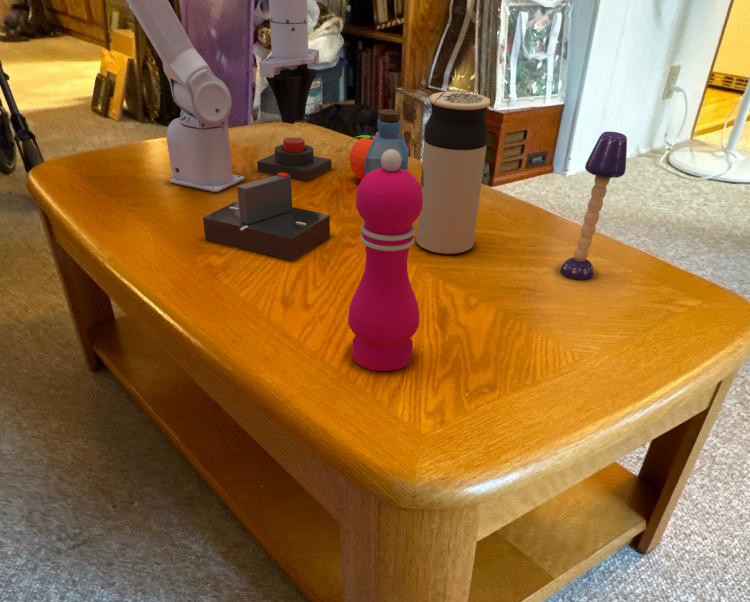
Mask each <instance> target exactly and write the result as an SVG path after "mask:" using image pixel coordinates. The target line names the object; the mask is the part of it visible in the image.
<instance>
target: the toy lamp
mask: <svg viewBox="0 0 750 602" xmlns="http://www.w3.org/2000/svg"><path fill="white" fill-rule="evenodd" d="M627 152H628V137H627V136H626V135H625V134H624V133H621V132H618V131H604V132H601V134H600V136H599V137H598V139H597V141H596V143H595V145H594V147H593V149H592V150H591V152H590V154H589V156H588V158H587V160H586V162H585V166H584V168H585V171H586V172H587V173H589V174H591V175H593V176H594V185H593V187H592V188H591V192H590V196H591V197H590V199H589V200H588V203H587V210H586V212H585V214H584V217H583V224H582V225H581V228H580V235H579V237H578V239H577V243H576V244H577V247H576V248H575V250H574V253H573V256H572V257H570V258H568V259H566V260H565V261H564V262H563V263H562V264H561V267H560V273H561V274H562V275H563V276H565V277H567V278H570V279H573V280H578V281H579V280H581V281H582V280H589V279H591V278H592V277H593V276H594V266H593V264H592V262H591V261H590V260H588V259H587V258H588V256H589V249H590V247H591V246H592V242H593V236H594V235H595V233H596V229H597V228H596V227H597V226H596V225H597V223H598V222H599V219H600V212H601V210H602V208H603V205H604V200H603V199H605V197H606V194H607V187H608V185H609V183H610V180H611V179H613V178H614V179H615V178H621V177H623V176H624V175H625V173H626V168H627Z"/></svg>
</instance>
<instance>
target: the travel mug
mask: <svg viewBox="0 0 750 602" xmlns="http://www.w3.org/2000/svg"><path fill="white" fill-rule="evenodd" d="M428 100H429V102H430V105H431V114H430V116H429V118H428V120H427V122H426V123H425V126H424V138H423V150H422V163H421V164H422V165H421V174H420V175H421V176H420V186H421V190H422V194H423V205H422V210H421V213H420V215H419V216H418V218H417V227H416V241H415V242H416V243H417V244H418V246H420V247H421V248H423V249H424V250H426V251H428V252H432V253H434V254H440V255H458V254H461V253H465V252H467V251H469V250H471V249H472V248H473V247H474V242H475V235H476V227H477V220H478V214H479V213H478V212H479V206H480V198H481V190H482V184H483V176H484V168H485V161H486V154H487V145H488V140H489V139H488V138H489V131H490V130H489V127H488V124H487V121H486V114H487V111H488V108H489V106H490V105H491V99H490V98H489V97H487V96H485V95H482V94H478V93H474V92H467V91H440V92H435V93H432V94H431V95H430V96H429V98H428Z"/></svg>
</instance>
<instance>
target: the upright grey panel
mask: <svg viewBox="0 0 750 602" xmlns="http://www.w3.org/2000/svg"><path fill="white" fill-rule="evenodd" d="M236 188H237V189H236V191H237V201H239V212H240V221H241V222H243V223H246V224H251V223H254V222H257V221H260V220H264V219H267V218H270V217H273V216H276V215H279V214H283V213H286V212H289V211H292V207H293V191H292V190H293V188H292V178H291V176H289V174H287V173H284V172H281V173H278V174H277V175H272V176H269V177H266V178H262V179H258V180H254V181H251V182H247V183H244V184H240V185H236Z"/></svg>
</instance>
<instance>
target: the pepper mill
mask: <svg viewBox="0 0 750 602" xmlns="http://www.w3.org/2000/svg"><path fill="white" fill-rule="evenodd" d="M401 162H402V160H401V156H400V154H399V152H398V151H396V150H394V149H389V150H387V151H385V152H384V154H383V155H382V158H381V164H382V168H378V169H375V170H373V171H371V172H369V173H368V174H367V175H366V176H365V177H364V178H363V179H362V180H361V179H360V182H359V184H358V187H357V190H356V196H355V206H356V211H357V212H358V214H359V216H360V217H361V219H362V220H363V223H362V224H361V226H360V231H361V235H360V241H361V243H362V244H363V245H364V246H365V265H364V270H363V274H362V275H361V278H360V281H359V283H358V285H357V288H356V289H355V292H354V293H353V296H352V298H351V301H350V304H349V306H348V307H349V308H348V317H347V324H348V327H349V329H350V330H351V331H352V333H353V334H354V335H355V336H354V337H353V338H352V351H351V352H352V353H351V354H352V355H351V356H352V358H353V360H354V361H355V363H356V364H357V365H359V367H360V366H361V367H363V368H364V369H367V370H370V371H375V372H392V371H397V370H400V369H404V368H405V367H406V366H407V365H409V363H410V362H411V361H412V357H413V346H414V343H413V340H412V337H413V336H414V335H415V334H416V333H417V331H418V329H419V326H420V308H419V303H418V300H417V298H416V295H415V293H414V290H413V287H412V285H411V281H410V278H409V271H408V257H409V251H410V247H412V246H413V245H414V244H415V233H416V228H415V226H414V224H413V223H415V221H416V220H418V216H419V215H420V213H421V210H422V205H423V194H422V190H421V183H419V181H418V179H417V178H416V177H415V176H414V175H413V174H412V173H411V172H409V171H408V170H407V171H405V170H403V169H400V168H399V167H400V166H401Z"/></svg>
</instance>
